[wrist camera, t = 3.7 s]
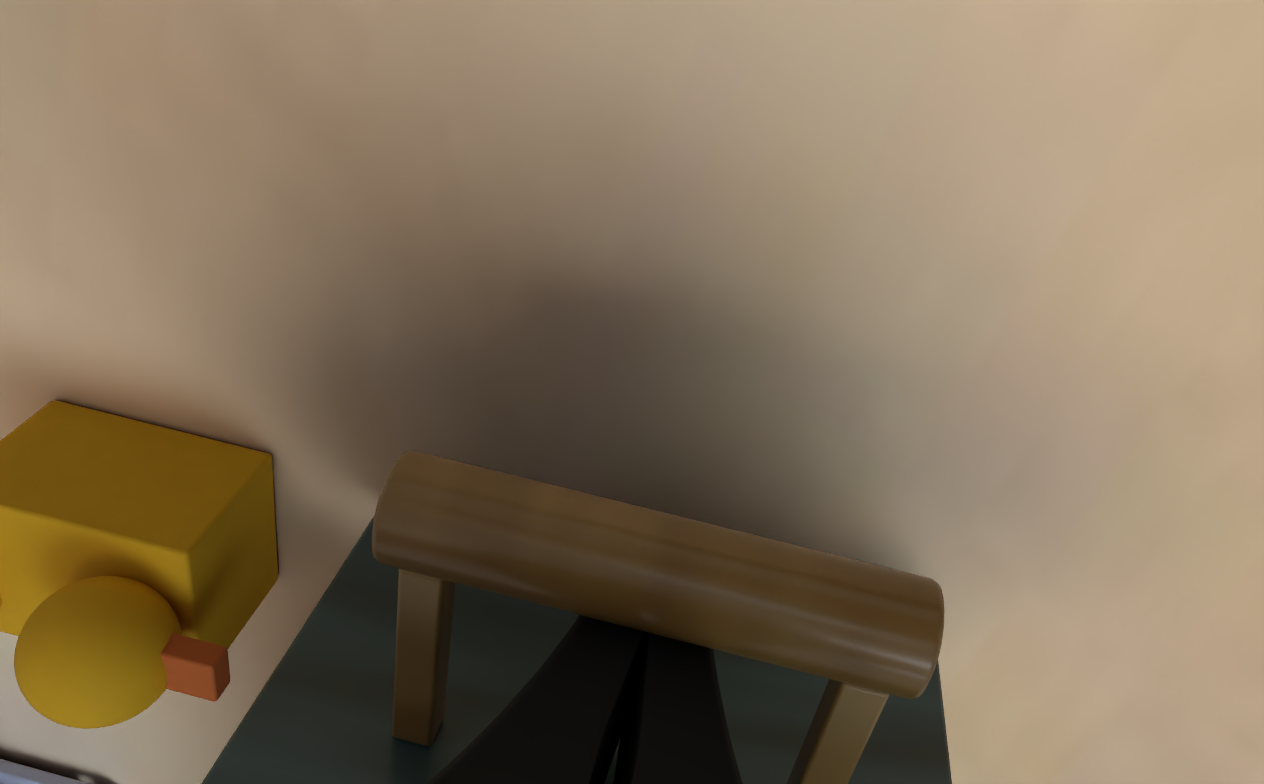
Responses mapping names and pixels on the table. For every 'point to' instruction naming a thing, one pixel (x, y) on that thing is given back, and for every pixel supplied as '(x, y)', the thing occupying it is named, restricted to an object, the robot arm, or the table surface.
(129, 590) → the duck
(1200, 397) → the table surface
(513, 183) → the table surface
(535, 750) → the robot arm
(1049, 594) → the table surface
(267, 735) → the drawer
